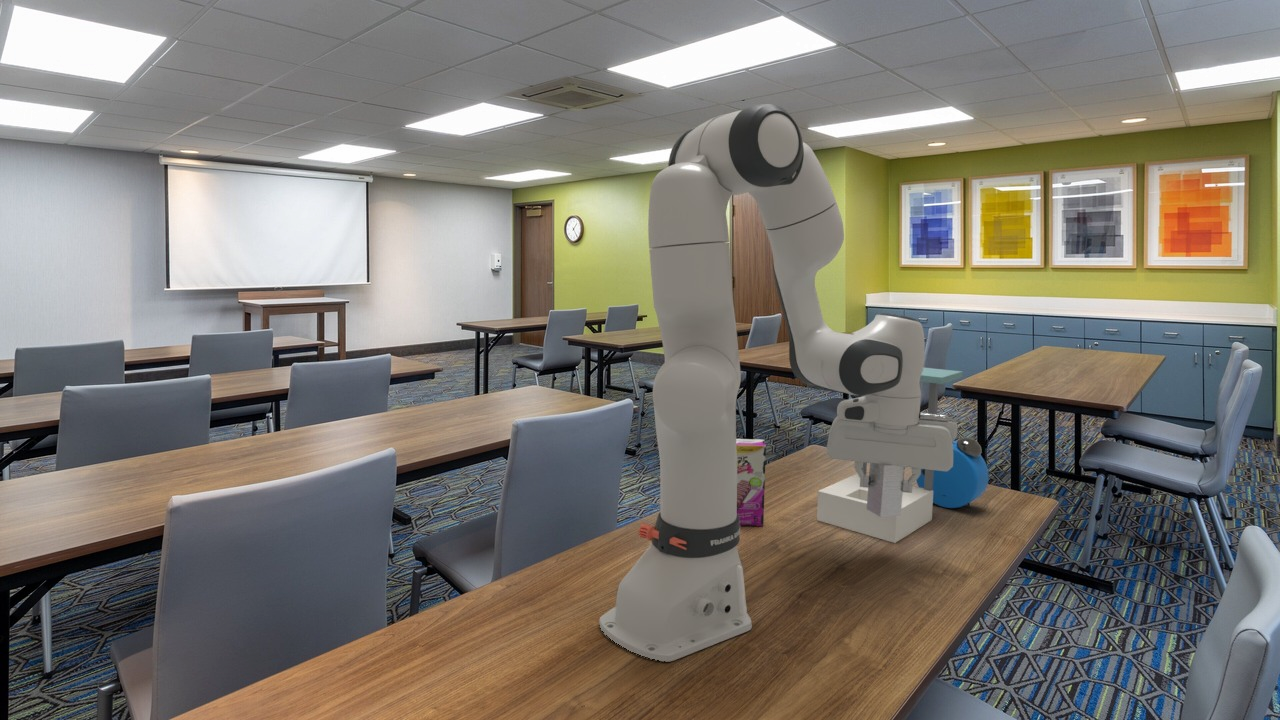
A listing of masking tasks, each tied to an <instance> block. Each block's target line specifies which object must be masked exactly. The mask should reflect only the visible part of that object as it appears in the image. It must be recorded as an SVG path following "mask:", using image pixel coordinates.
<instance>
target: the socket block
mask: <svg viewBox="0 0 1280 720" xmlns="http://www.w3.org/2000/svg"><path fill="white" fill-rule="evenodd" d="M963 372H964V371H961V370H952V369H951V370H950V369H942V368H933V367H925V366H924V367H923V372H922V374H921V377H920V382H921V383H929V389H928V390H929V392H928V406H927V407H928V408H927V413H930V414H936V415H938V397H939V385H943V384H946V383H949V382H952V381H956V380H959V379H963V375H964V374H963ZM863 396H865V395H860V397H863ZM867 465H868V463H865V462H863V468H861V469H862V471H863V473H864V475H867ZM933 474H934V470H929V469H925V481H924V488H920V487H919V486H914V485H913V486H912V493H907V492H903V495H902V507H901V515H900V516H889V517H879V516H877V515H876V514H874V513H872V512H871V511H869V510H867V497H868V488H866V487H860V477H859V475H858V473H856V474H853V475H851V476H849V477H846V478H844V479H842V480H839V481H837V482H836V483H833V484H830V485H829V486H826V487H823V488H821V489H819V490H817V506H816V507H817V509H816V521H818V522H823V523H826V524H827V525H828V524H829V525H832V526H835V527H839V528H842V529H845V530H848V531H853V532H856V533H860V534H863V535H866V536H870V537H873V538H876V539H880V540H883V541H887V542H890V543H894V544H896V543H898V542H899V541H901V540H902V539H904V538H906V537H907V536H909V535H910V534H912V533H913V532H914V531H917V530H918V529H920V528H921V527H923V526H925V525H926V524H927V523H929V522H931V521H932V520H933V504H934V503H933Z"/></svg>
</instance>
